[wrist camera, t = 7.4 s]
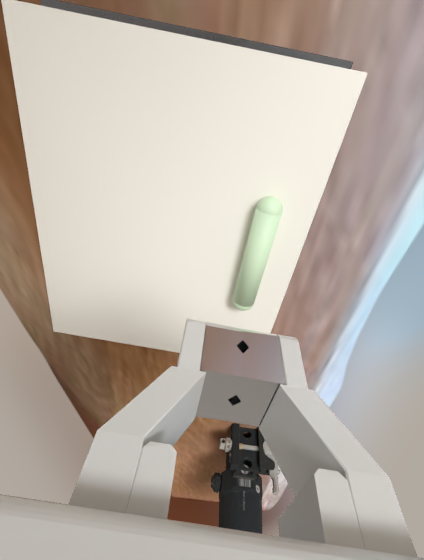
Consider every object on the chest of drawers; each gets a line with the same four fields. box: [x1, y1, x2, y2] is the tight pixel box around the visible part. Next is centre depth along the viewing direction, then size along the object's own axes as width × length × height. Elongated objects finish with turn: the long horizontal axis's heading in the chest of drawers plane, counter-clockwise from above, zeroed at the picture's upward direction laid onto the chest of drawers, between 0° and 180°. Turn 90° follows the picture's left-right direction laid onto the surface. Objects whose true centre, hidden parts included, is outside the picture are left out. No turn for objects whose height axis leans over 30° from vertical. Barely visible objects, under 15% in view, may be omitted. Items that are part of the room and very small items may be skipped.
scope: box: [211, 423, 280, 534], centre depth 41 cm, size 8×14×10 cm
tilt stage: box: [1, 0, 367, 353], centre depth 21 cm, size 22×18×3 cm
